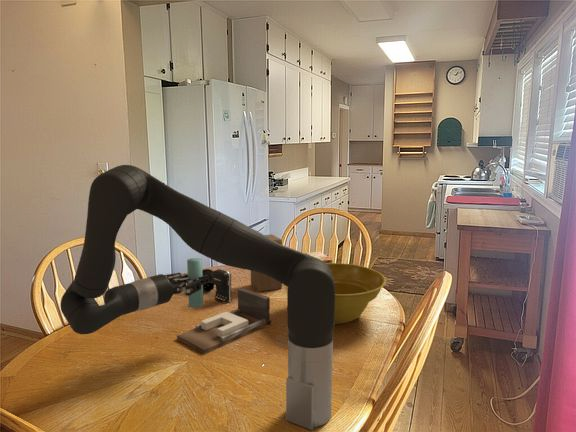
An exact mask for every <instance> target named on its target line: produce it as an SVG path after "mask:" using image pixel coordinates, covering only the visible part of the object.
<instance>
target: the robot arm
mask: <svg viewBox="0 0 576 432" xmlns="http://www.w3.org/2000/svg"><path fill="white" fill-rule="evenodd" d="M136 210H139V211H143V212H144V213H147V214H149V215H151V216H154V217H155V218H158V219H159V220H162V221H163V222H165V224H167V226H169V227H171V229H172V230H173V231H174V232H175V233H176V234H177V235H178V237H179V238H180V239H181V240H182V241H183V242H184V243H185V244H186V245H187V246H188V247H189V248H190V249H192V250H193V251H195V252H197V253H199V254H201V255H203V256H205V257H207V258H208V259H211V260H213V261H214V262H217V263H220V264H221V265H225V266H228V267H230V268H231V267H232V268H236V269H240V270H248V271H250V272H251V271H256V272H260V273H262V274H265V275H267V276H269V277H271V278H273V279H275V280H277V281H279V282H280V283H282V285H284V286H285V287H287V289H286V290H287V295H286V298H287V299H286V300H287V301H286V302H287V308H286V309H287V312H286V313H287V317H286V318H287V321H286V323H287V378H286V379H285V386H286V387H285V389H286V391H285V394H286V395H285V408H286V409H285V420H286V421H288V422H289V423H292V424H295V425H298V426H300V427H303V428H305V429H308V430H310V431H313V430H314V429H315V428H317V427H320V426H323V425H325V424H327V423H328V422H329V421H330V419H331V417H332V404H333V403H332V402H333V401H332V398H333V357H334V356H333V355H334V353H333V352H334V329H335V323H334V315H335V284H334V278H333V274H332V271H331V269H330V268H329V266H328V265H327V264H326V263H325V262H323V261H322V260H320V259H318V258H315V257H313V256H310V255H307V254H306V252H301V251H299V250H297V249H293V248H290V247H289V246H285V245H283V244H282V245H281V244H279V243H277V242H275V241H273V240H271V239H270V238H268V237H266V236H265V235H266V234H263V233H261V232H259V231H257V230H255V229H254V228H252V227H250V226H248V225H247V224H244V223H242V222H241V221H239V220H237V219H236V218H233V217H231V216H229V215H226V214H225V213H223V212H221V211H219V210H216V209H215V208H212V207H210V206H207V205H205V204H204V203H201V202H199V201H198V200H196V199H194V198H192V197H190V196H188V195H185V194H184V193H181V192H179V191H177V190H176V189H174V188H172V187H170V186H168V185H167V184H166V183H165V182H163V181H162V180H160V179H158V178H156V177H155V176H153V175H151V174H150V173H148V172H146V171H145V170H143V169H141V168H139V167H137V166H135V165H131V164H121V165H117V166H114V167H113V168H110V169H108V170H106V171H104V172H102V173H100V174H99V175H98V176H96V177H95V178H94V179H93V181H92V183H91V185H90V188H89V194H88V203H87V214H86V217H87V218H86V223H85V232H84V233H85V234H84V241H83V246H82V250H81V254H80V257H79V261H78V264H77V267H76V271H75V275H74V278H73V280H72V281H71V283H70V284H69V286H68V287H67V288H66V290H65V292H64V293H63V294H62V296H61V299H60V310H61V313H62V315H63V317H64V318H65V320H66V322H67V324H68V325H69V326H70V328H71V330H72V331H73V332H75V334H78V335H89V334H92V333H95V332H97V331H99V330H100V329H102V328H103V327H105V326H106V325H108V324H109V323H111V322H113V321H114V320H116V319H118V318H119V317H121V316H125V315H127V314H128V315H129V314H131V313H134V312H137V311H143V310H148V309H150V308H153V307H157V306H160V305H163V304H166V303H168V302H170V301H171V299H172V297H173V296H174V295H180V294H182V293H185V296H186V297H188V296H190V295H192V294H193V293H195V292H197V291H199V290H201V285H203V284H207V283H209V275H204V276H201V277H197V278H192V279H190V278H188V273H181V272H175V273H174V272H173V273H168V274H163V273H159V274H155V275H153V276H152V275H151V276H148V277H144V278H143V277H142V278H139V279H137V280H133V281H132V282H129V283H124V284H121V285H116V286H113V287H110V288H108V287H109V285H110V282H111V279H112V276H113V273H114V269H115V267H116V261H117V260H116V257H117V255H116V240H117V235H118V233H119V231H120V229H121V227H122V225H123V224H124V221H125V220H126V218H127V216H128V215H131V214H132V213H134V212H135V211H136ZM193 281H194V282H193ZM191 282H192V283H191ZM102 296H103V302H104V304H101V305H99V302H98V301H97V300H96V299H97V298H100V297H102Z"/></svg>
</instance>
